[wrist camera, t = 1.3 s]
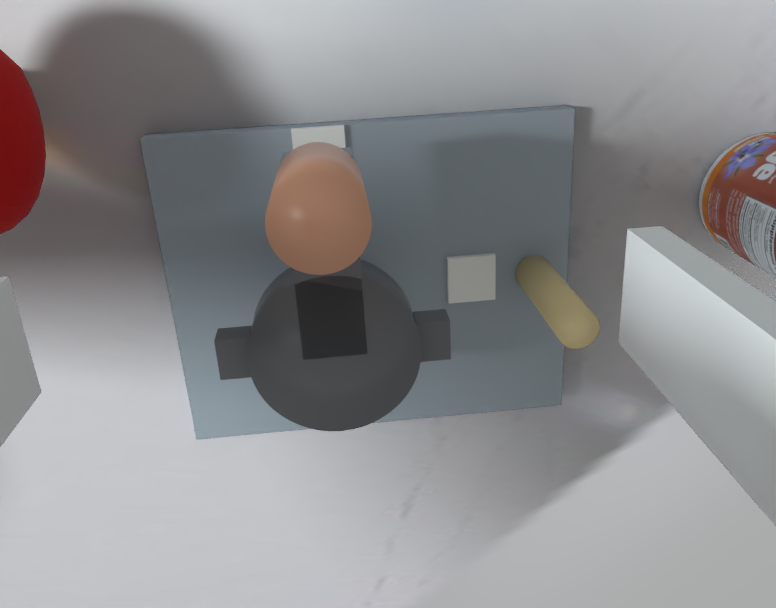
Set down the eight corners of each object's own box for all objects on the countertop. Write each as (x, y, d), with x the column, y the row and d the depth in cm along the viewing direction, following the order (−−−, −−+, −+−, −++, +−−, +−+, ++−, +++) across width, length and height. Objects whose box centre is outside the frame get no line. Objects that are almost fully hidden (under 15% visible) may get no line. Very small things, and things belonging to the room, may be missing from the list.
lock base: (200, 427, 39) (171, 527, 32) (145, 134, 33) (94, 172, 26) (555, 394, 41) (608, 482, 33) (566, 105, 34) (635, 133, 27)
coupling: (445, 391, 33) (478, 493, 26) (234, 411, 32) (210, 520, 25) (438, 122, 28) (476, 160, 21) (190, 140, 27) (146, 184, 21)
